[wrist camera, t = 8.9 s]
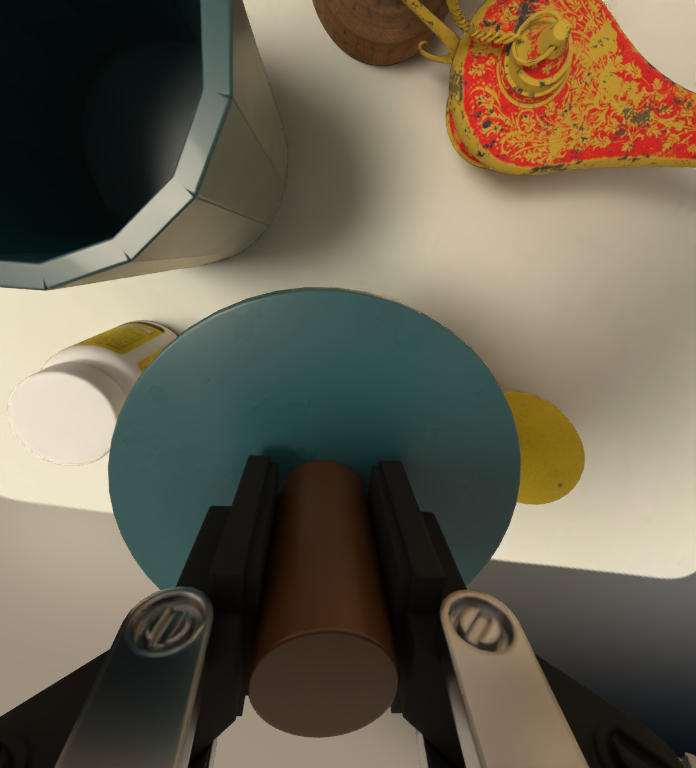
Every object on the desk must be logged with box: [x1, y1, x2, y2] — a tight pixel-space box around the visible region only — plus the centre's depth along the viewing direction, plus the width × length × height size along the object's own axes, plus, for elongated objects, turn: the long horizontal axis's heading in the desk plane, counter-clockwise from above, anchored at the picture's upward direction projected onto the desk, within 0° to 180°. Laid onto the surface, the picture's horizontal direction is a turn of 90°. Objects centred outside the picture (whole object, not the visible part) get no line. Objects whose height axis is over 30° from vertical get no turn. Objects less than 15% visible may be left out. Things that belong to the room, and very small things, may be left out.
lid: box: [108, 287, 521, 738], centre depth 9 cm, size 11×11×6 cm
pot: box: [0, 0, 287, 291], centre depth 13 cm, size 10×10×14 cm
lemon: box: [504, 392, 585, 505], centre depth 22 cm, size 6×6×8 cm
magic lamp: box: [402, 0, 696, 176], centre depth 15 cm, size 7×18×11 cm, turn 72°
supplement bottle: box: [7, 321, 178, 466], centre depth 19 cm, size 5×5×8 cm
